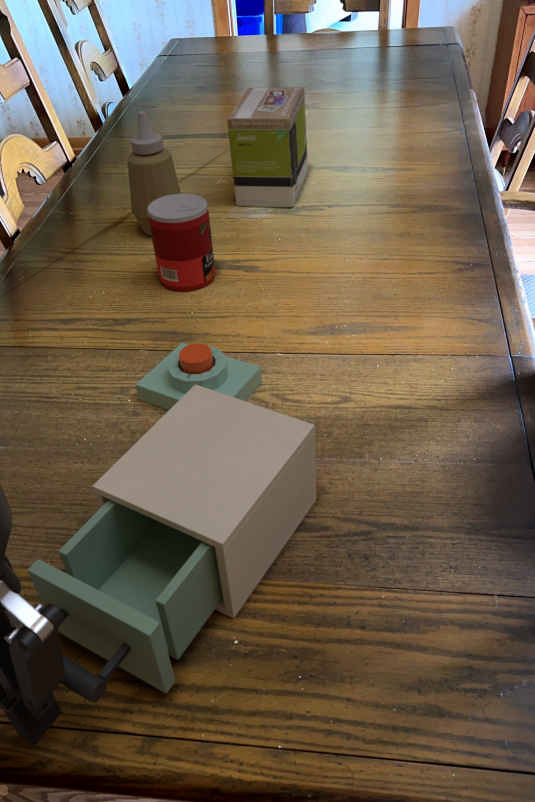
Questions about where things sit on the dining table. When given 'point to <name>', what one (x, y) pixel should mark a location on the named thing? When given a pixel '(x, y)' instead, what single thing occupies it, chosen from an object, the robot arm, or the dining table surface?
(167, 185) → the squeeze bottle
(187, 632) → the drawer
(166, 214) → the canned food
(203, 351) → the button
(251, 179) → the tea box
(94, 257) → the dining table surface
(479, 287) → the dining table surface
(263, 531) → the grey box-shaped casing
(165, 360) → the panel
